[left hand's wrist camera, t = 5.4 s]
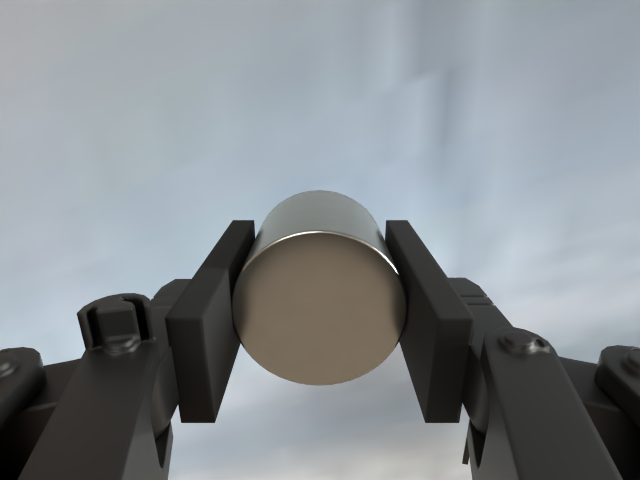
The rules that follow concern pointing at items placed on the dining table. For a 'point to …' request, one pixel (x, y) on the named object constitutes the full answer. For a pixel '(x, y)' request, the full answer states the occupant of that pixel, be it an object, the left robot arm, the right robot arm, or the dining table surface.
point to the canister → (319, 292)
